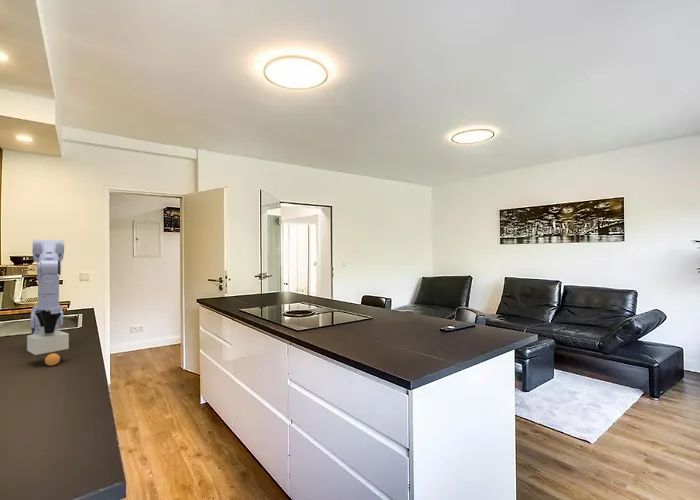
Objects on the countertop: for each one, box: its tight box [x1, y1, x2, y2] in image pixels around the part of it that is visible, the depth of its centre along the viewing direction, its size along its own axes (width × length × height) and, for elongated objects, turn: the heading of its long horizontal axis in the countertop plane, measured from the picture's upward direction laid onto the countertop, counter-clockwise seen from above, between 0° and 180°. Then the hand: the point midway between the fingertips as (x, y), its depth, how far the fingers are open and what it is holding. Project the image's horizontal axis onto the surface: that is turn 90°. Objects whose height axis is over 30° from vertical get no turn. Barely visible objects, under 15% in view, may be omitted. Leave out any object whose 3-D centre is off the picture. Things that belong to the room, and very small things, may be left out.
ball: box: [44, 352, 61, 367], centre depth 122 cm, size 4×4×4 cm
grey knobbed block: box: [26, 326, 70, 356], centre depth 126 cm, size 9×9×8 cm
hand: (47, 332), depth 126 cm, fingers closed on grey knobbed block, 3 cm apart
